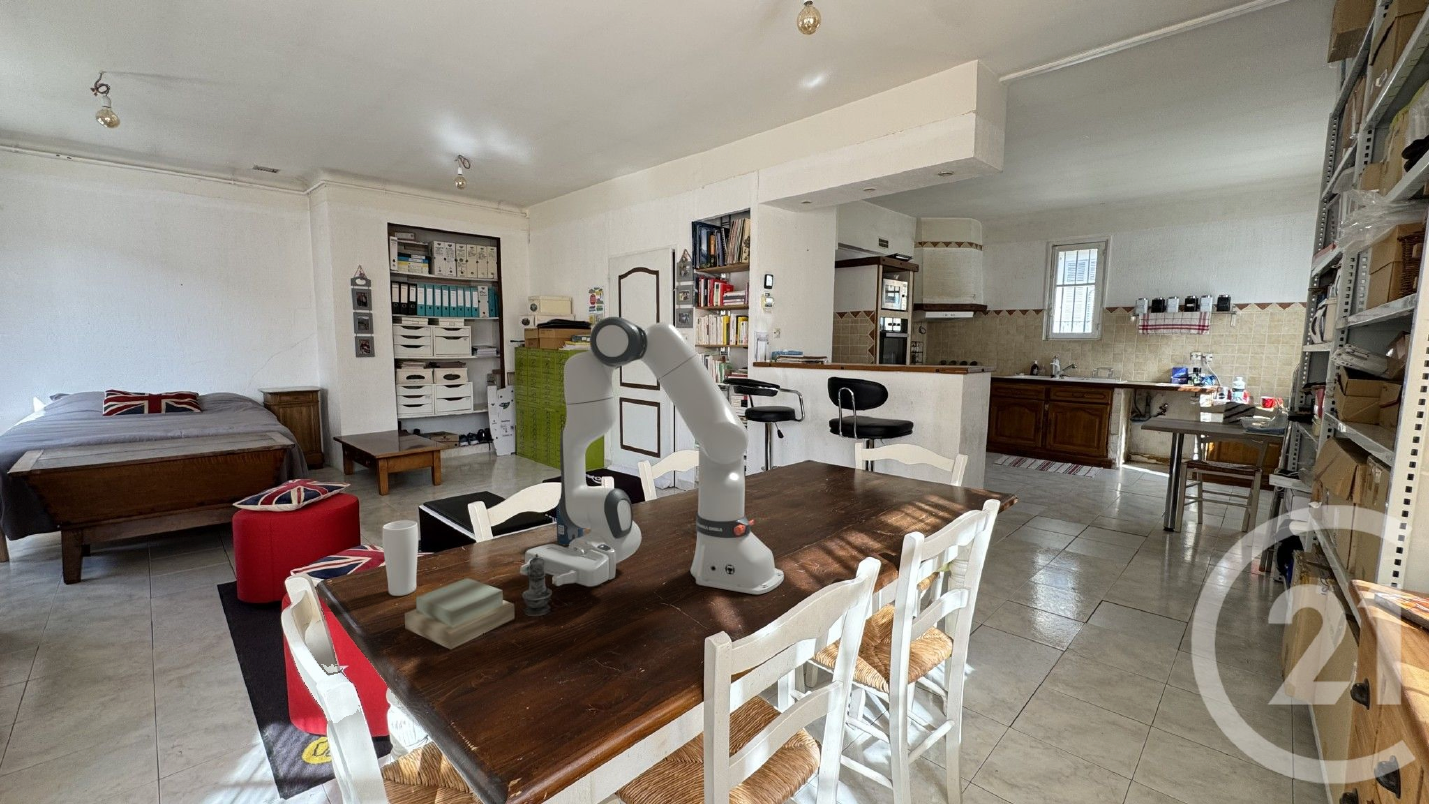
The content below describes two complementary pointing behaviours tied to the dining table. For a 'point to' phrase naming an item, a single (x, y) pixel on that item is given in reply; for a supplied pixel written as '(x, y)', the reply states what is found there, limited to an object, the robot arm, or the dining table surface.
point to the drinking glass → (401, 556)
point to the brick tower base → (460, 630)
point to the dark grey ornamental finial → (537, 590)
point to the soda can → (566, 531)
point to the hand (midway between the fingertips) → (538, 576)
